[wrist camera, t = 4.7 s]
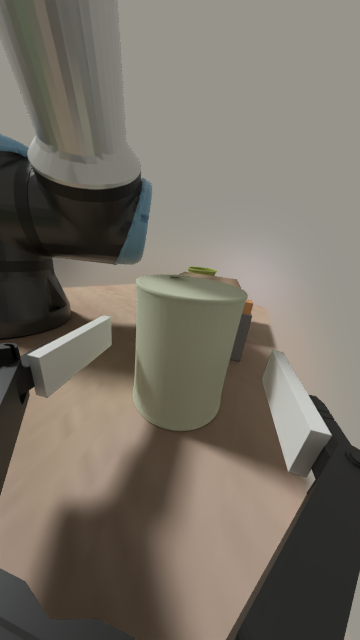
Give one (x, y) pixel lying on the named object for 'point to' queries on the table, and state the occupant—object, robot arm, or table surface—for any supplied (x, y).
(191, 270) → the plant pot
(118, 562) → the table surface
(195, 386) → the can
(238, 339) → the hurdle posts
